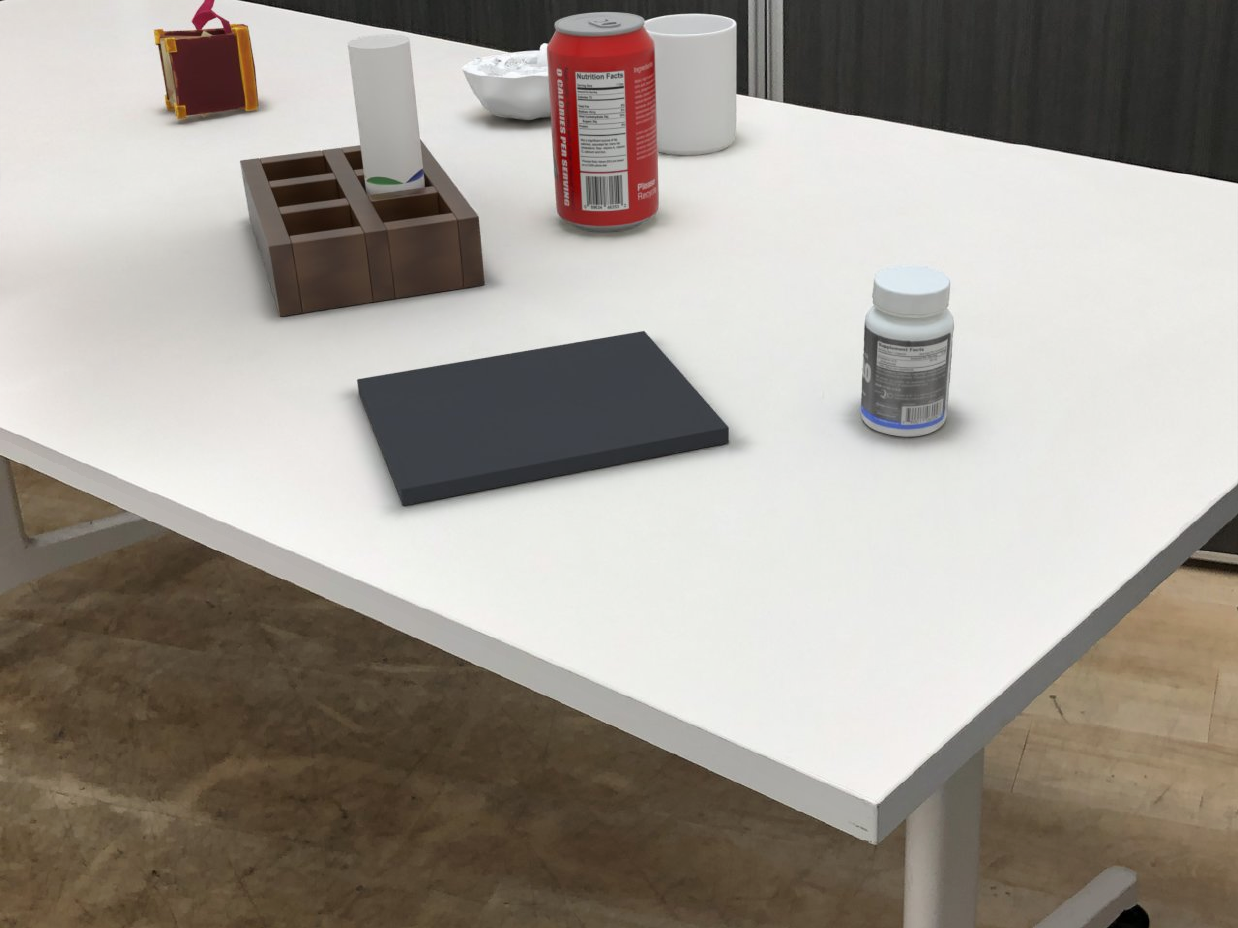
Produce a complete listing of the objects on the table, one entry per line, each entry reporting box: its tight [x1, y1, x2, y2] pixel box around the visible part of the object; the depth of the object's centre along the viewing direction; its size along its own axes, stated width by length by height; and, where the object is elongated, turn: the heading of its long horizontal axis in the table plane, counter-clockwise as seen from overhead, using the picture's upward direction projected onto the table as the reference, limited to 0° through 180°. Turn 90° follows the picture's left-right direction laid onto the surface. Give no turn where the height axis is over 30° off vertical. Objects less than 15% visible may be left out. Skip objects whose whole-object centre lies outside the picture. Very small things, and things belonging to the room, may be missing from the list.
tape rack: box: [239, 138, 486, 317], centre depth 105 cm, size 14×20×5 cm
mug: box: [644, 13, 738, 156], centre depth 124 cm, size 12×8×10 cm
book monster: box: [153, 0, 259, 120], centre depth 142 cm, size 11×9×12 cm
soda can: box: [547, 11, 660, 233], centre depth 107 cm, size 8×8×15 cm
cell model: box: [461, 42, 551, 121], centre depth 135 cm, size 10×12×7 cm
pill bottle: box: [860, 264, 955, 438], centre depth 78 cm, size 5×5×8 cm
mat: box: [356, 330, 730, 506], centre depth 82 cm, size 18×14×1 cm
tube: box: [347, 33, 425, 196], centre depth 104 cm, size 4×4×15 cm
